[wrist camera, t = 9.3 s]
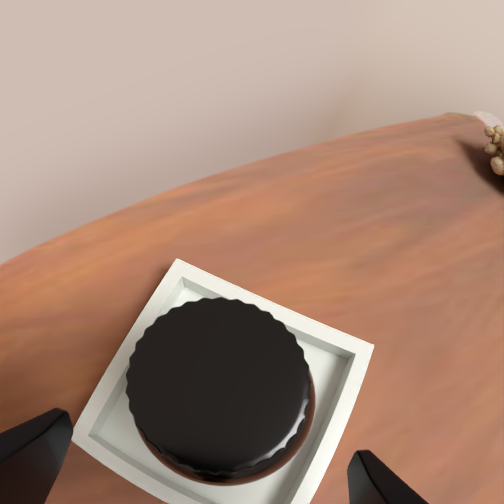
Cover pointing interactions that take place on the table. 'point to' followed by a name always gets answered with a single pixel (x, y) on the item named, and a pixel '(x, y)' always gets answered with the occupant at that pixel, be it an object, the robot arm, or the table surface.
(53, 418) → the robot arm
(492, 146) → the mineral formation
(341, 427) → the ceramic tray
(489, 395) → the table surface
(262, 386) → the supplement bottle
